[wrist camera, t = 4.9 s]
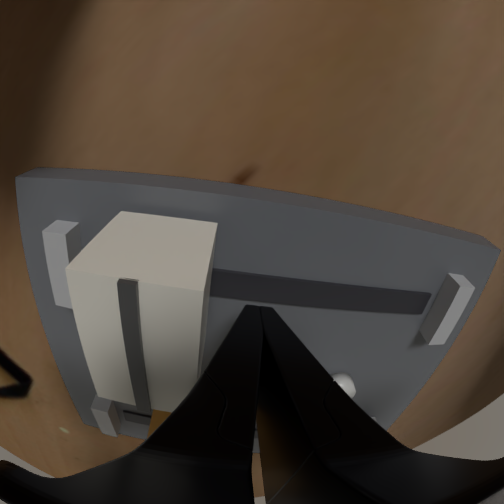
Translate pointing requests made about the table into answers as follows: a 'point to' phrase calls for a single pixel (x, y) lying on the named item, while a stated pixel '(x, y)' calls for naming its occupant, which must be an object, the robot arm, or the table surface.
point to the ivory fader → (144, 307)
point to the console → (269, 279)
